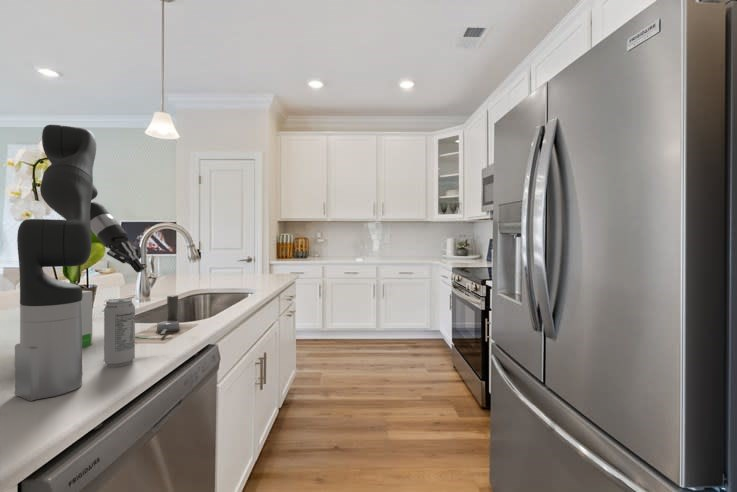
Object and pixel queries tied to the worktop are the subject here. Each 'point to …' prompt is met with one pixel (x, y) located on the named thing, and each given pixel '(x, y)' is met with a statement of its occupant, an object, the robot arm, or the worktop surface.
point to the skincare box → (86, 318)
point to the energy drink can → (119, 332)
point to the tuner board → (154, 336)
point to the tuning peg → (170, 316)
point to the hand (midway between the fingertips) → (141, 270)
